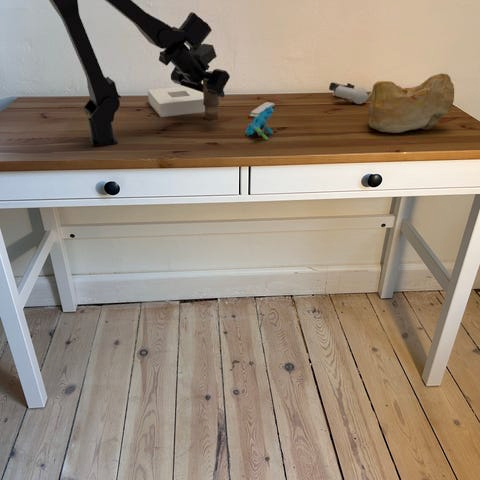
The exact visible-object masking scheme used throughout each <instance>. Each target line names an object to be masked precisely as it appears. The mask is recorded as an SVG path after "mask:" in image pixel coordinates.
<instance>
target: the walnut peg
mask: <svg viewBox="0 0 480 480" xmlns="http://www.w3.org/2000/svg"><path fill="white" fill-rule="evenodd" d="M206 72H209V73H212V72H213V70H210V71H209V70H206ZM206 83H207V81H203V80H202V84H203V97H204V102H203V104H204V106H205V112H204V117H205V120H207V121H208V120H209V121H214V120H217V119H219V107H218V106H219V105H220V102H219V101H220V97H219V96H216V95H214V94H211V93H209V92H208V90H207V88H206Z"/></svg>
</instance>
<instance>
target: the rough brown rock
mask: <svg viewBox="0 0 480 480" xmlns="http://www.w3.org/2000/svg"><path fill="white" fill-rule="evenodd" d="M372 89H373V91H372V90H371V91H372V94H371V96H370V97H371V98H370V101H369V106H368V119H367V120H368V121H367V122H368V126H369V127H370V128H372V129H374V130H376V131H379V132H381V133H391V134H398V133H403V132H404V133H405V132H407V131H411V130H419V129H422V130H430V129H432V128H433V126H434V125H435V124H436V123H438V121H439V119H440V118H441V117H444V116H445V115H446V114H447V113H448V112H451V111H452V109H453V106H454V100H455V86H454V83H453V82H452V80H451V77H450V75H449V74H448V73H438V74H434V75H431V76H430V77H429V78H427V79H426V80H424V82H422V83H420V84H419V85H417V86H413V87H405V88H402V87H401V86H399V85H397V84H396V83H395V82H393V81H386V80H385V81H384V80H381V81H380V80H379V81H376V82H375V83H374V84H373V86H372Z"/></svg>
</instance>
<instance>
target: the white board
mask: <svg viewBox="0 0 480 480" xmlns="http://www.w3.org/2000/svg"><path fill="white" fill-rule="evenodd" d="M147 96H148V97H147V98H148V103H149V104H150V106H151V107H152V108H153V109H154V111H155V112H156V113H157V114H158V115H159V117H160V118H165V117H166V118H167V117H174V116H181V115H182V116H183V115H191V114H200V113H205V106H204V104H203V102H204V97H203V93H202V92H200V91H197V90H194V89H191V88H188V87H185V86H176V87H175V86H174V87H166V88H155V89H147Z"/></svg>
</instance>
